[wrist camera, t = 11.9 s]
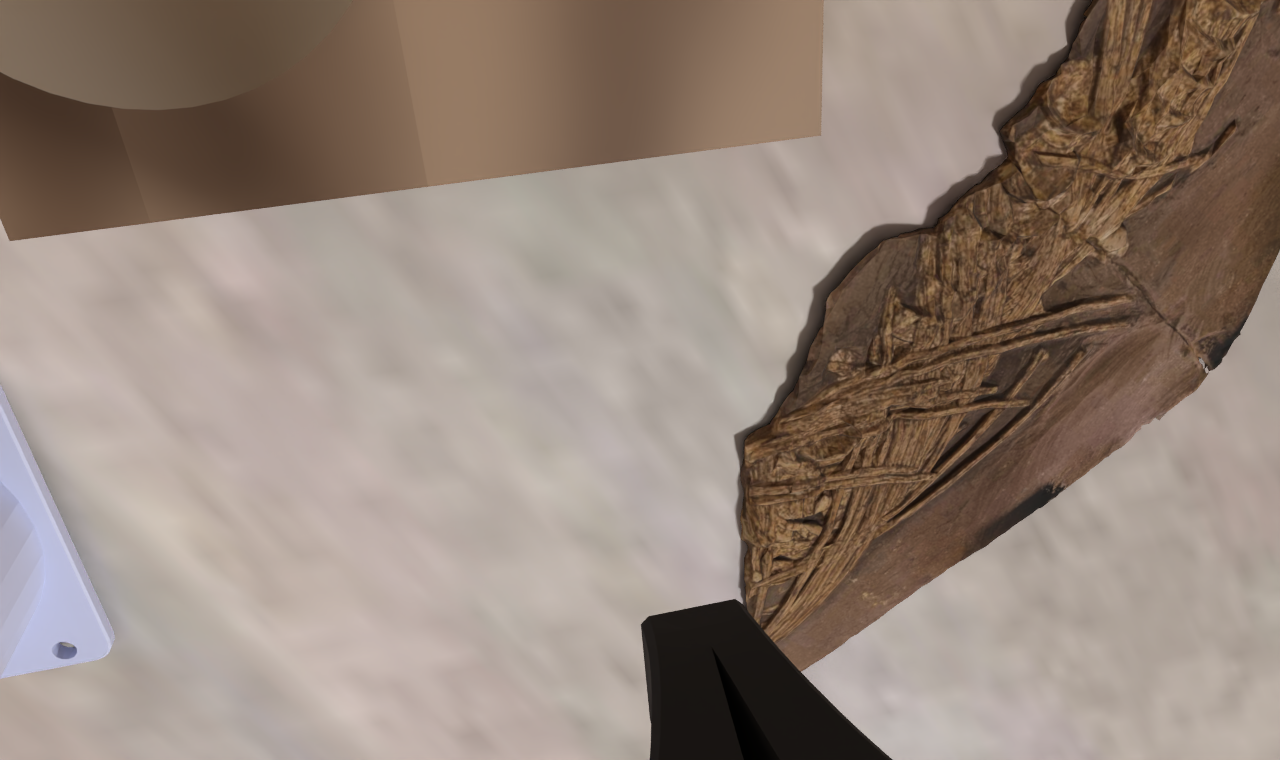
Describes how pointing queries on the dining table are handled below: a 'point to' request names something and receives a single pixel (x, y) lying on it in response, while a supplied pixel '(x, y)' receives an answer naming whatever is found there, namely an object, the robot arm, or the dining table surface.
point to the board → (425, 108)
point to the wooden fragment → (1024, 319)
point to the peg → (158, 47)
